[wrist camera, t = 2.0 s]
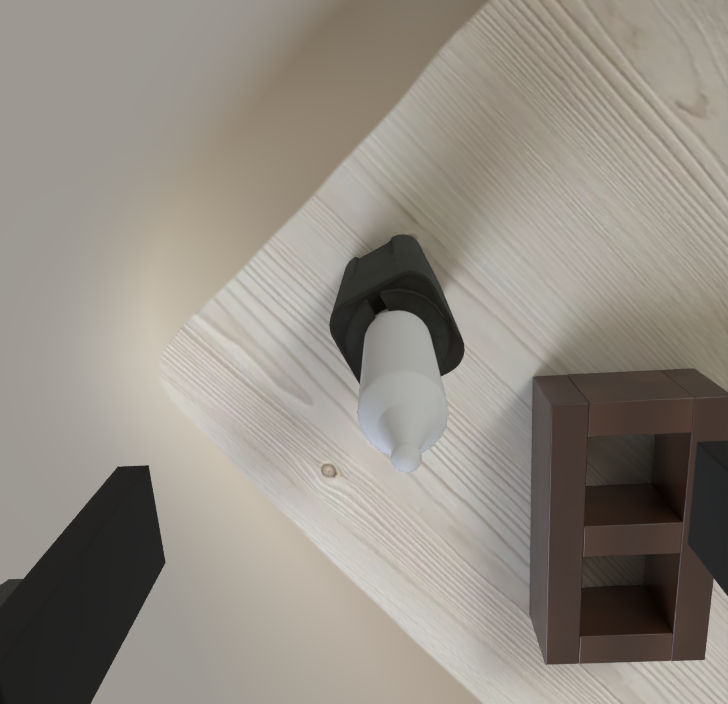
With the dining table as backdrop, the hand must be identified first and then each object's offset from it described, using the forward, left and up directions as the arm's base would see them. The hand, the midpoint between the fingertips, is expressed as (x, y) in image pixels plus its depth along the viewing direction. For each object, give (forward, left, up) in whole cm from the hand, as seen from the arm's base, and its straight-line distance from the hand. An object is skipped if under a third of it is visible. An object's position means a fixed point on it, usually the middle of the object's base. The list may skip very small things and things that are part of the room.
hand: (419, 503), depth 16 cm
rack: (+14, -16, -27) cm, 34 cm away
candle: (0, 0, -27) cm, 27 cm away
